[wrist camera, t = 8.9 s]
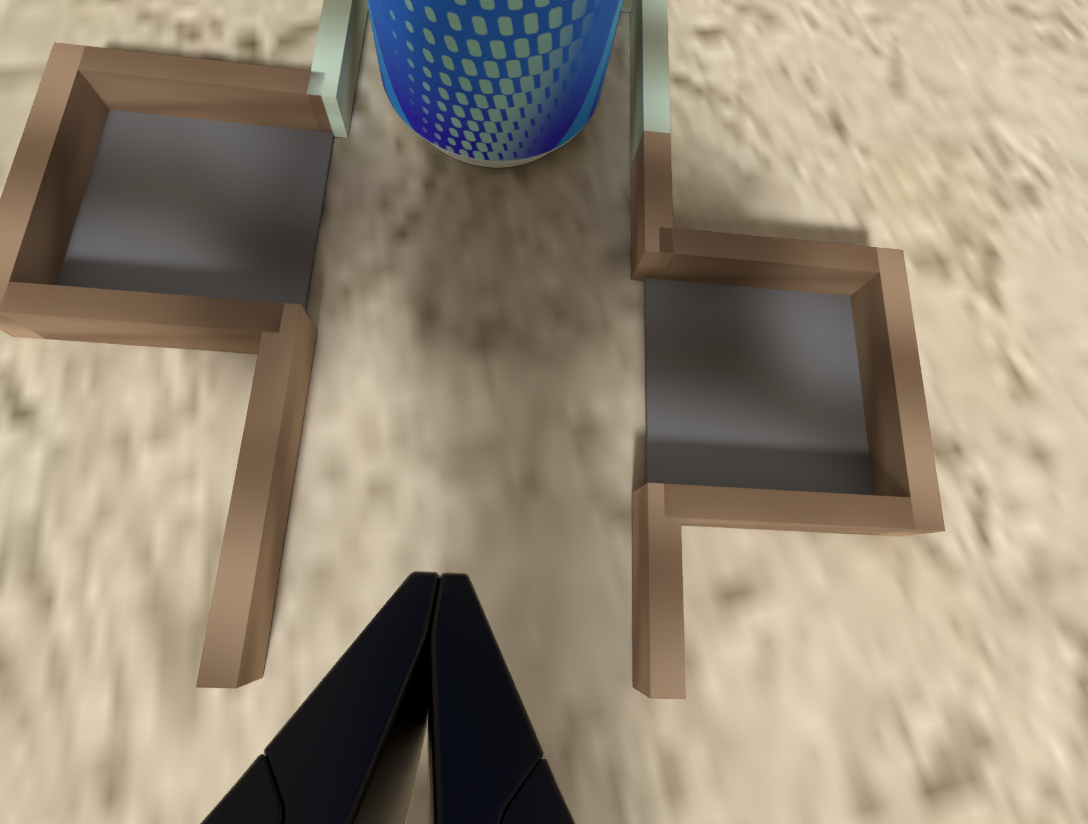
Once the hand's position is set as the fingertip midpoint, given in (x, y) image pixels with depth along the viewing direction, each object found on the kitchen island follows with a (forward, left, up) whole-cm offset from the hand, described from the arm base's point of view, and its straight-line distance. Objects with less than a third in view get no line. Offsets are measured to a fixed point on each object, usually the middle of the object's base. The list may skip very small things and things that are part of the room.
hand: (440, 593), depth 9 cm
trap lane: (+8, +8, -10) cm, 15 cm away
